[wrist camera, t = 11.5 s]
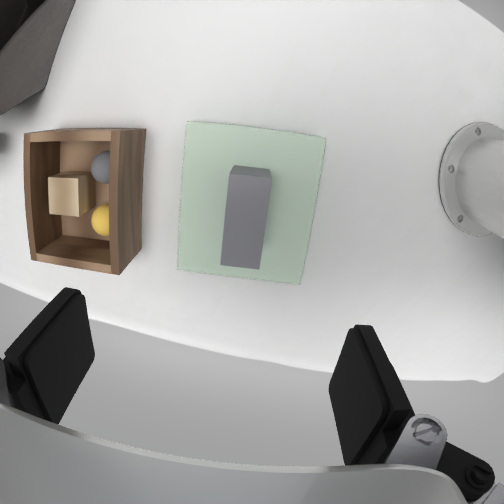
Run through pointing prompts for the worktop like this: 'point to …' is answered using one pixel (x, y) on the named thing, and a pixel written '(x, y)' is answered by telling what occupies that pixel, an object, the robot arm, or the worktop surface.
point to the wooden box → (115, 194)
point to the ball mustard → (101, 220)
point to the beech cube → (71, 193)
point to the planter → (28, 46)
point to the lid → (247, 201)
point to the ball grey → (101, 167)
